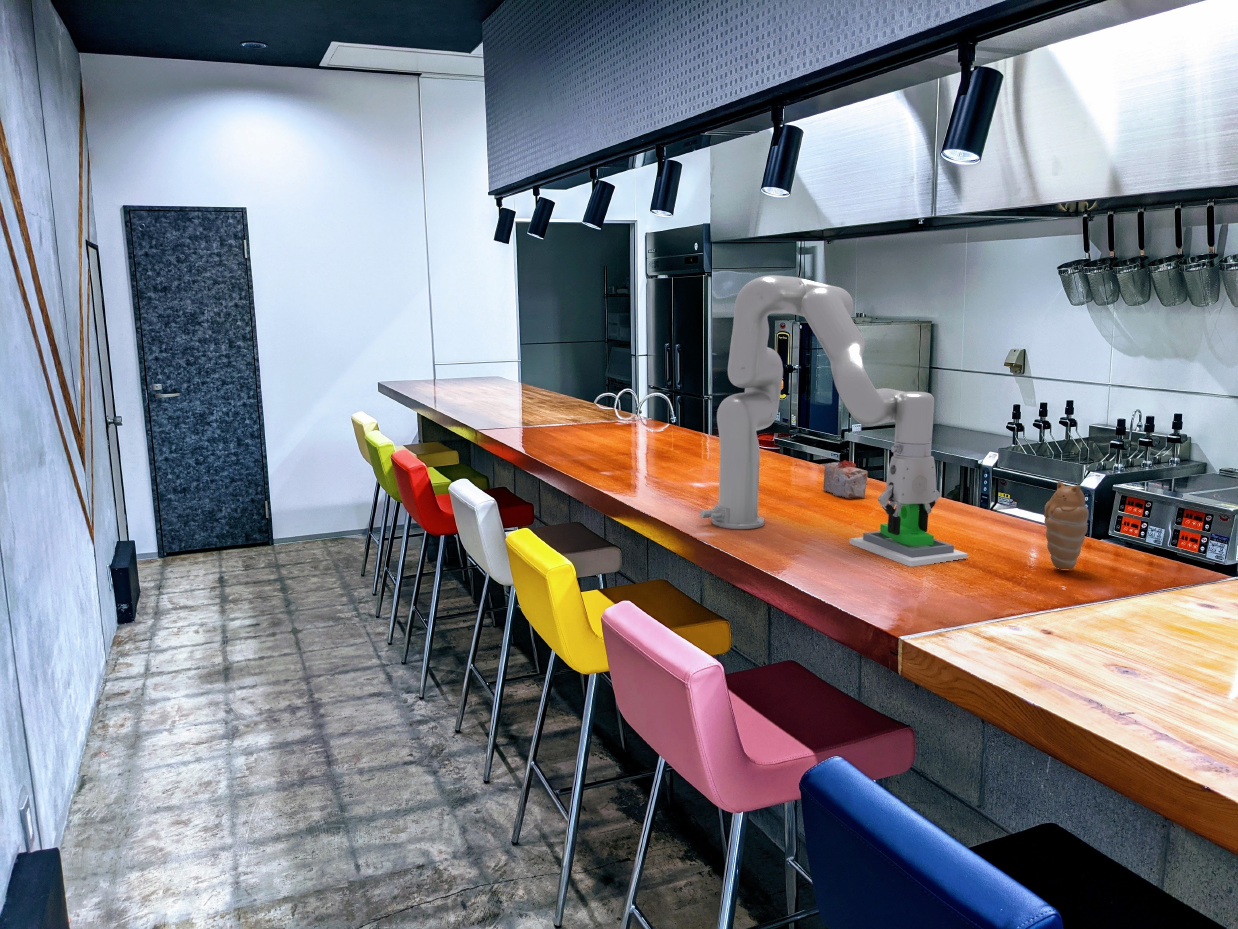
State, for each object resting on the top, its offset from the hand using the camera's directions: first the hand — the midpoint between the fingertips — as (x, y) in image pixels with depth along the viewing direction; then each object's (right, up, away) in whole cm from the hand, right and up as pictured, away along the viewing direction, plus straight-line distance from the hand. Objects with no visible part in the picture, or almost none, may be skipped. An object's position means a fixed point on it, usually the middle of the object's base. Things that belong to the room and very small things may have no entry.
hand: (907, 531), depth 201 cm
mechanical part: (0, -2, +1) cm, 2 cm away
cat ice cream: (+27, -7, -14) cm, 31 cm away
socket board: (0, -4, +1) cm, 4 cm away
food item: (+1, +6, +60) cm, 60 cm away
